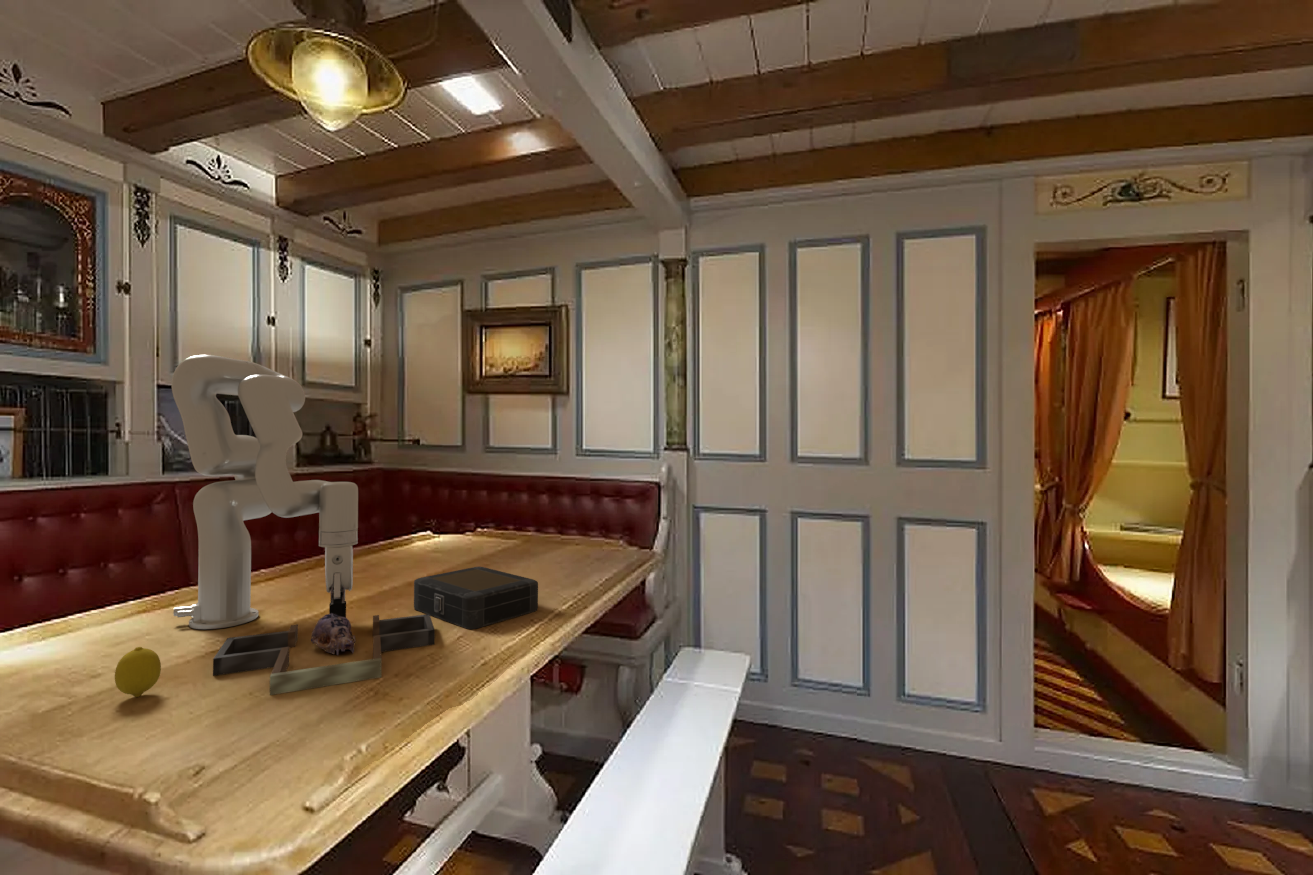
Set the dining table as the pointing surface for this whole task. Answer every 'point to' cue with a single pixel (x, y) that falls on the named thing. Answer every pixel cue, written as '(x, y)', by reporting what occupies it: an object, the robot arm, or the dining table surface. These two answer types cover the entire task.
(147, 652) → the lemon
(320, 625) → the skull
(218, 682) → the dining table surface
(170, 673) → the dining table surface
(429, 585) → the cash box
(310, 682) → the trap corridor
